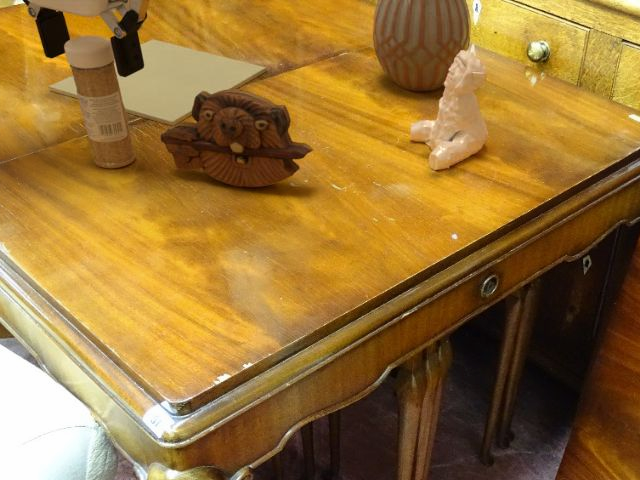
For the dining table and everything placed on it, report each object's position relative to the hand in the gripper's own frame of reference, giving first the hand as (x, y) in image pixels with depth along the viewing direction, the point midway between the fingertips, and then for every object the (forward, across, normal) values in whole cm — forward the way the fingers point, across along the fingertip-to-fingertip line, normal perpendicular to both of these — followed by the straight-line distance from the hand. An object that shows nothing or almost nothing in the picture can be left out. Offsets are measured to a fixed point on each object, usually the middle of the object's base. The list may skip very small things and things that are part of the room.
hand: (95, 63), depth 80 cm
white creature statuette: (+12, +32, +22) cm, 40 cm away
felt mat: (+11, -10, +20) cm, 25 cm away
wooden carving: (+12, +15, +3) cm, 19 cm away
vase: (+12, +20, +38) cm, 44 cm away
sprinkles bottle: (+11, 0, 0) cm, 11 cm away
